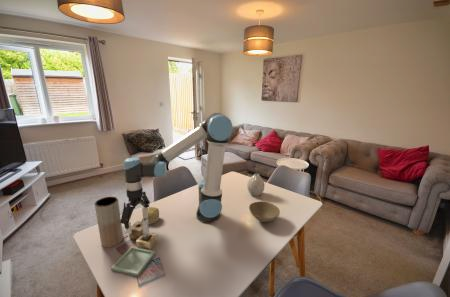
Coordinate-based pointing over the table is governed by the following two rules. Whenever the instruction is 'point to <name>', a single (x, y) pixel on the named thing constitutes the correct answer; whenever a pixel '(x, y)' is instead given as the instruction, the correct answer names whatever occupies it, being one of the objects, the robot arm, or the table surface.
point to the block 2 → (144, 244)
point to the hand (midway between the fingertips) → (137, 225)
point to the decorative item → (153, 215)
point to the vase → (255, 185)
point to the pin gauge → (145, 229)
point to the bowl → (264, 211)
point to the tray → (133, 261)
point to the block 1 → (136, 230)
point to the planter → (109, 221)
